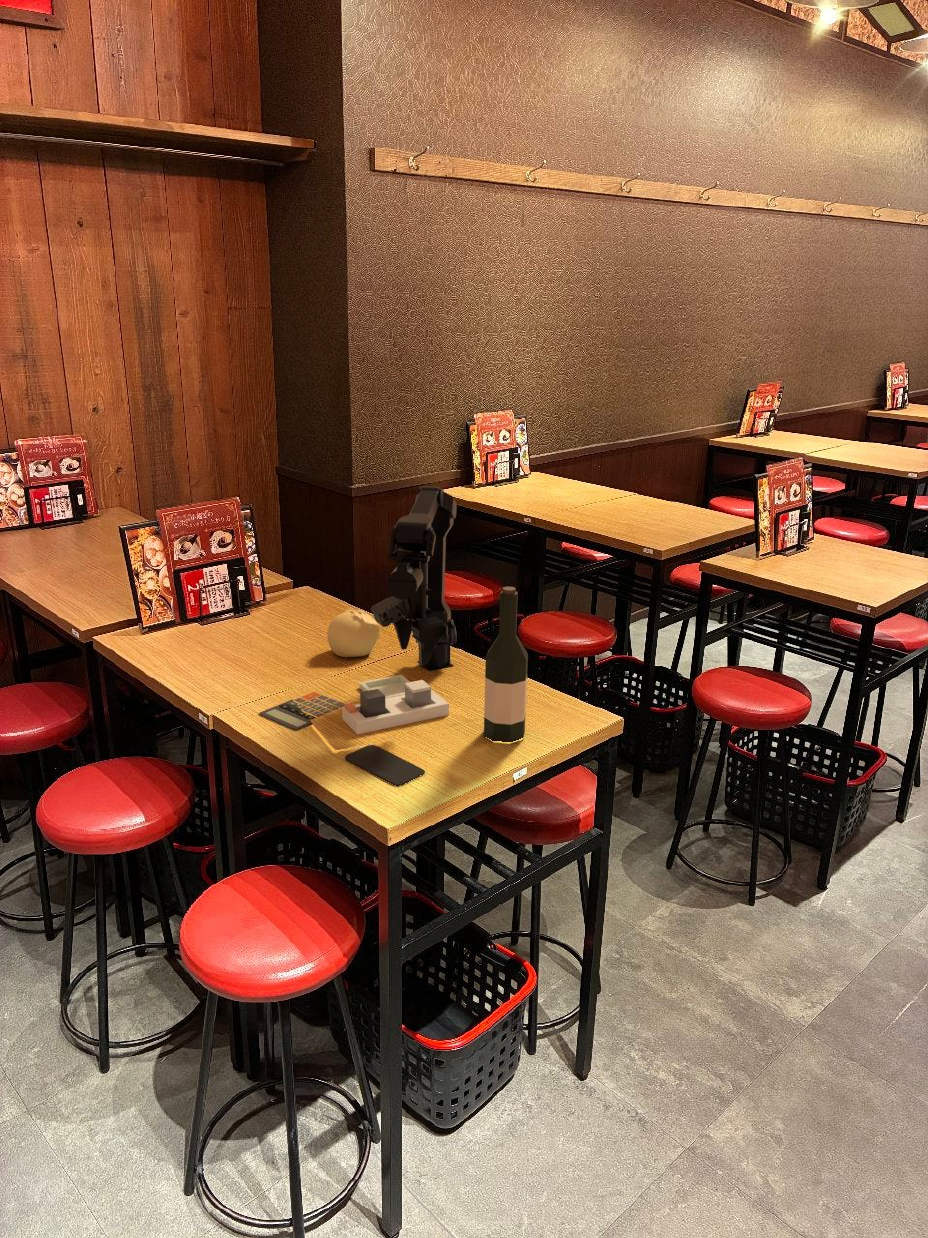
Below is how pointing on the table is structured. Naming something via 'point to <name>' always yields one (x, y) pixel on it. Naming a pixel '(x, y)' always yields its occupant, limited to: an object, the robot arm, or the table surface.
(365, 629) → the beige round lump
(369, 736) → the table surface
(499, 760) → the table surface
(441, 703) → the power strip
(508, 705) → the wine bottle
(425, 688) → the plug
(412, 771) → the phone
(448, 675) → the table surface
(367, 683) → the tray
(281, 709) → the calculator
